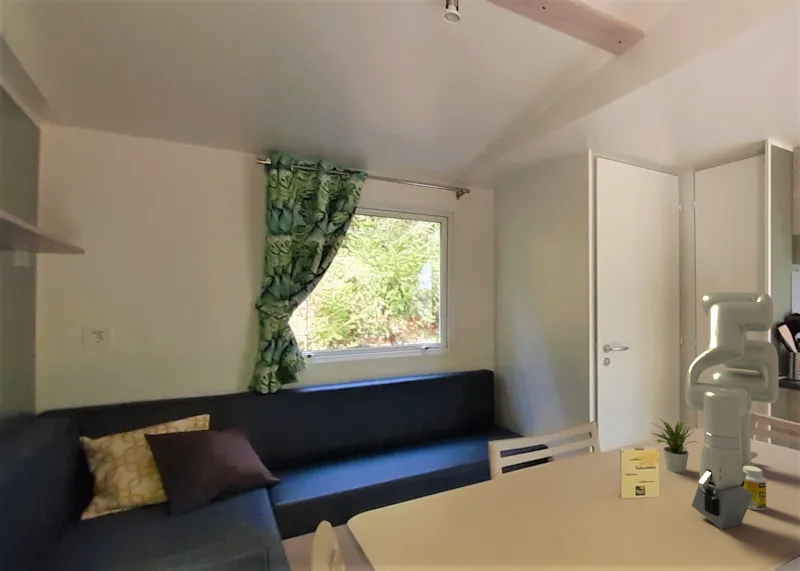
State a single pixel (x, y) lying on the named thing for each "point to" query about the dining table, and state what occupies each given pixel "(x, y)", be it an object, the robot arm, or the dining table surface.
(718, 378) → the robot arm
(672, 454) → the house plant
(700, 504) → the grey rectangular block
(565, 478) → the dining table surface
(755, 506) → the supplement bottle
